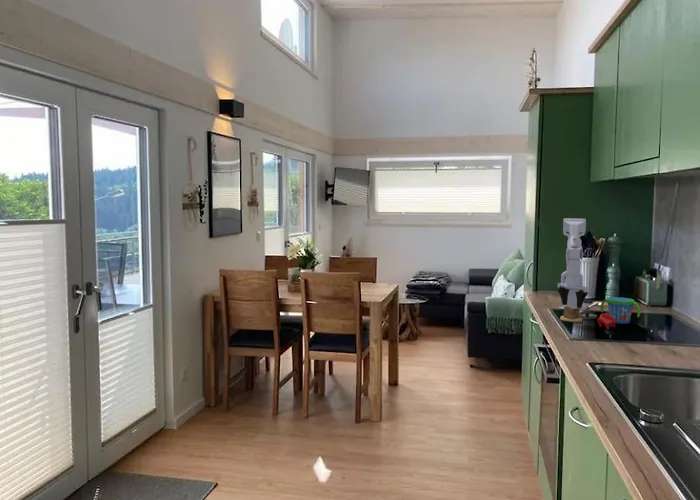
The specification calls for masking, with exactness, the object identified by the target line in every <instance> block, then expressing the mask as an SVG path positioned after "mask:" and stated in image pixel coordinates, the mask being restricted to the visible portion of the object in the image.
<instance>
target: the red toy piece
mask: <svg viewBox="0 0 700 500" xmlns="http://www.w3.org/2000/svg"><path fill="white" fill-rule="evenodd" d="M596 319H597V320H596V321H597V323H598V325H599V328H602V327H603V325H604V326H605V328H606V329H607V330H609V329H610V328H609V325H610V326H611V327H613V328H616V323H615V319H614V318H613V317H612V316H611V315H609V313H604V312H603V313H602V314H600V315H599V317H597V318H596Z"/></svg>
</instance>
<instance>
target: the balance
mask: <svg viewBox="0 0 700 500" xmlns="http://www.w3.org/2000/svg"><path fill="white" fill-rule="evenodd" d="M602 302H603V301H593V302H591V304H590V305H586V306H585V307H583V308H584V309H582V310H580V312H579V318H578V319H569V318H564V315H561V316H560V318H559V319H560V321H563V322H568V323H582V322H583V320H592V319H593V320H594V319H598V315H597V314H592V313H590V309H592V308H593V307H600V308H601V304H602ZM603 308H608V303H607V301H605V303H604V304H603Z"/></svg>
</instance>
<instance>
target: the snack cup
mask: <svg viewBox="0 0 700 500" xmlns="http://www.w3.org/2000/svg"><path fill="white" fill-rule="evenodd" d="M601 302H602V304H601V307H600V312H601V313H602V314H604V307H603V304H604V303H605V302H607V303H608V307H607V308H608V314H609V315H611V316H612V317H613V318H614V319H615V324H619V325H625V324H626V325H627V324H629V323H630V321H631V316H632V311H633V307H634V305H635V306H636V308H637V314H636V317H637V318H639V317H640V316H641V307H640V305H639V303H638V302H636V301H635V300H634V299H632V298H628V297H617V296H616V297H615V296H614V297H612V296H611V297H608V298H607V297H606V299H604V300H602V301H601Z"/></svg>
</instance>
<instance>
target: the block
mask: <svg viewBox="0 0 700 500" xmlns="http://www.w3.org/2000/svg"><path fill="white" fill-rule="evenodd" d="M579 312H580V308H577V307H572V306H570V307H564V309H563V316H564V318H569V319H578V318H579Z"/></svg>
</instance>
